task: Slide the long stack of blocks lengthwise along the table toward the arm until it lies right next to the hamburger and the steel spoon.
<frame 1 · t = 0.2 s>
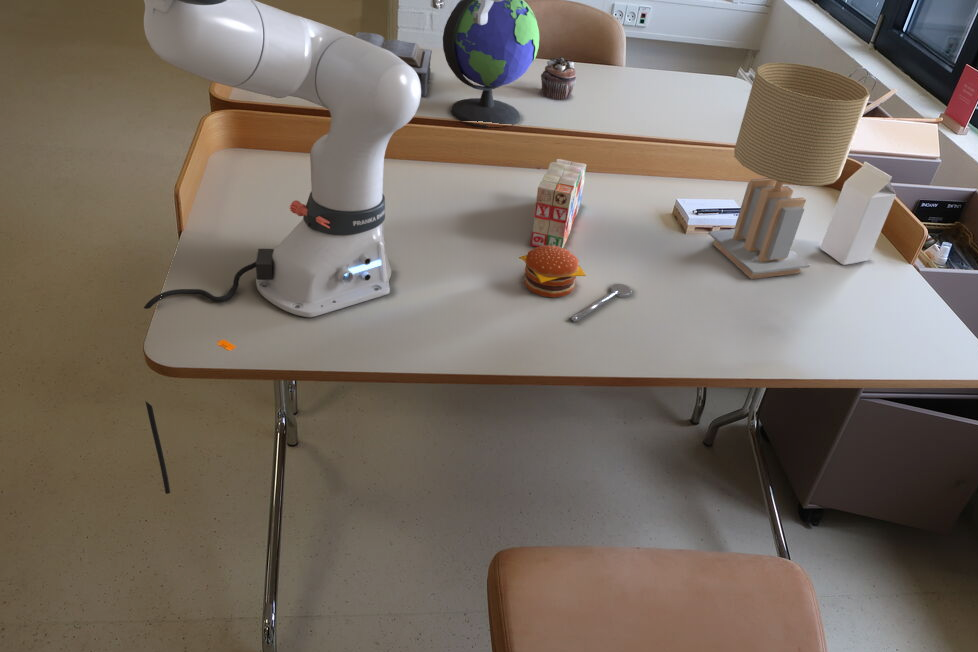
hand: (458, 15, 133), 39 cm above the table, tool pointing down, fingers open, 8 cm apart
cupcake: (556, 95, 226), on the table
hamburger: (549, 285, 145), on the table
stack of blocks: (556, 225, 164), on the table
milk carton: (843, 256, 169), on the table
desk lamp: (755, 259, 163), on the table
spoon: (604, 301, 143), on the table
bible: (383, 80, 218), on the table
globe: (485, 115, 207), on the table
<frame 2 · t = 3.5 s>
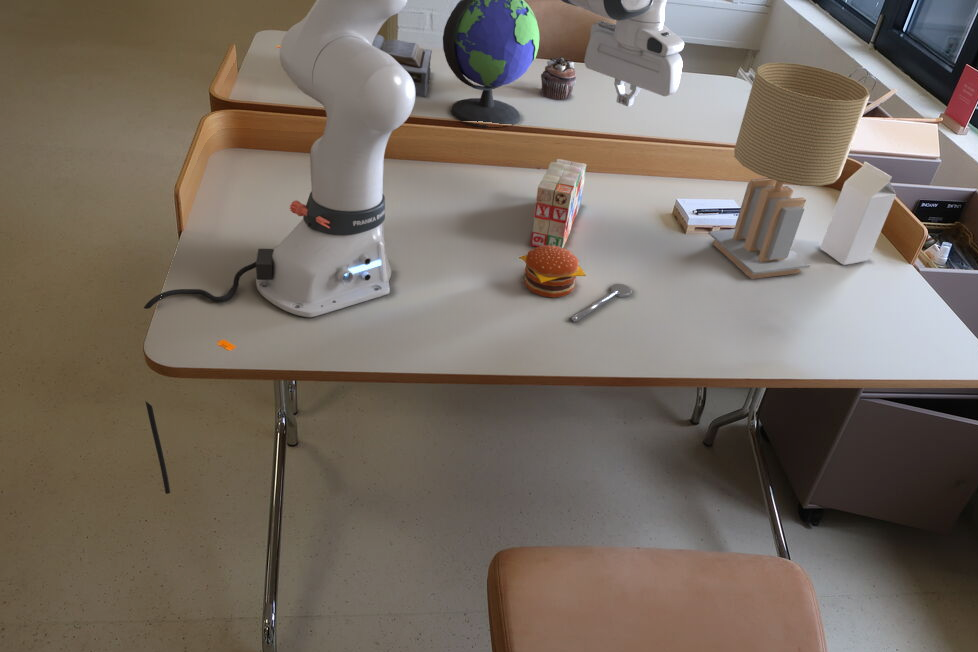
hand: (624, 104, 163), 21 cm above the table, tool pointing down, fingers closed
nothing on the table moved.
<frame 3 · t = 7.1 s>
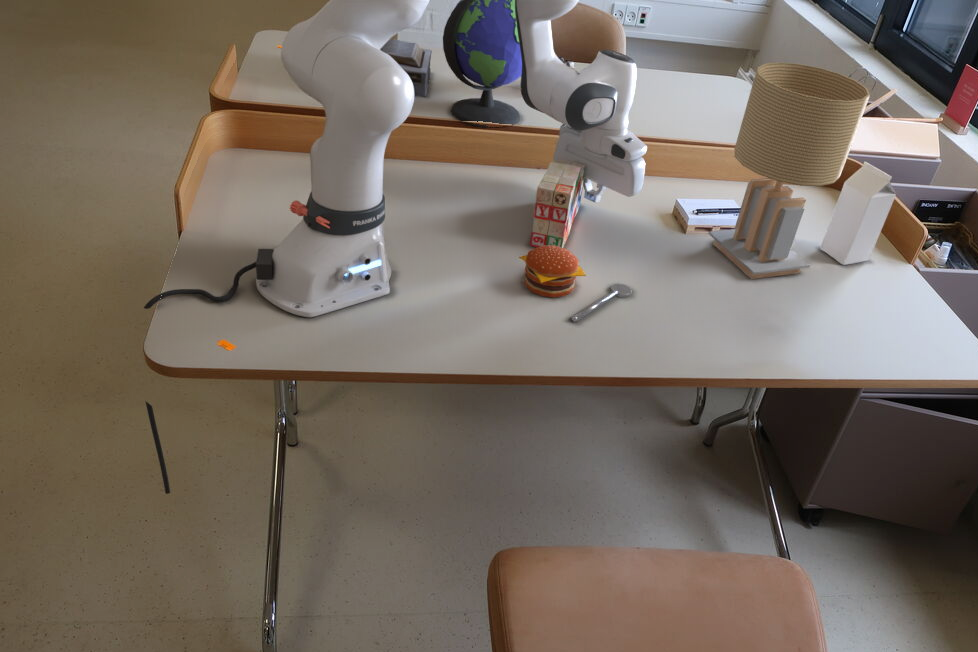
hand: (591, 199, 171), 2 cm above the table, tool pointing down, fingers closed
stack of blocks: (555, 225, 164), on the table, touching gripper
everything else where it was.
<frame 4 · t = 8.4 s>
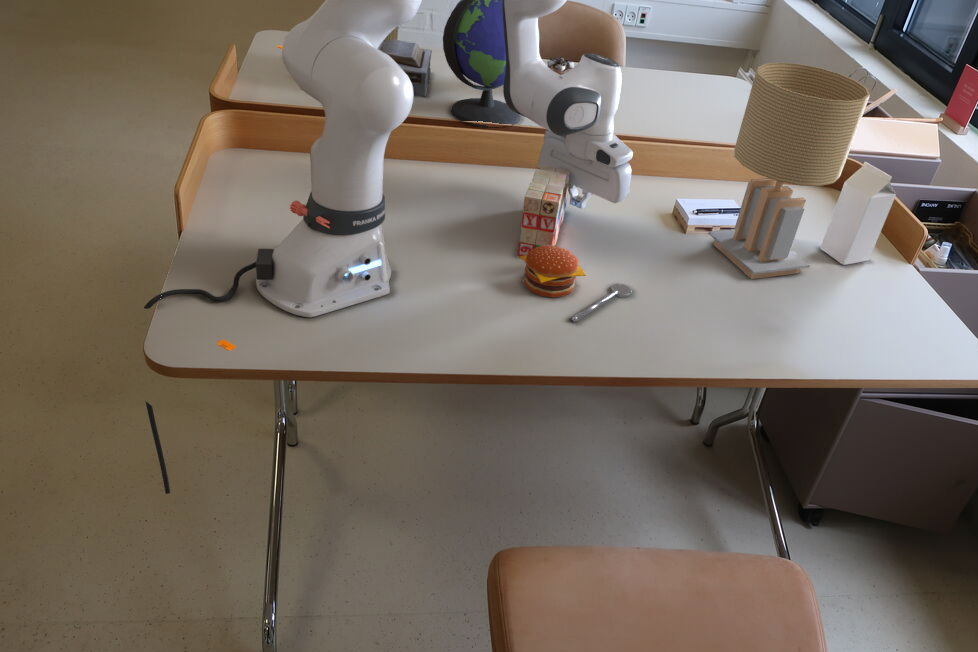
hand: (577, 206, 167), 2 cm above the table, tool pointing down, fingers closed
stack of blocks: (542, 234, 160), on the table, touching gripper
everything else where it was.
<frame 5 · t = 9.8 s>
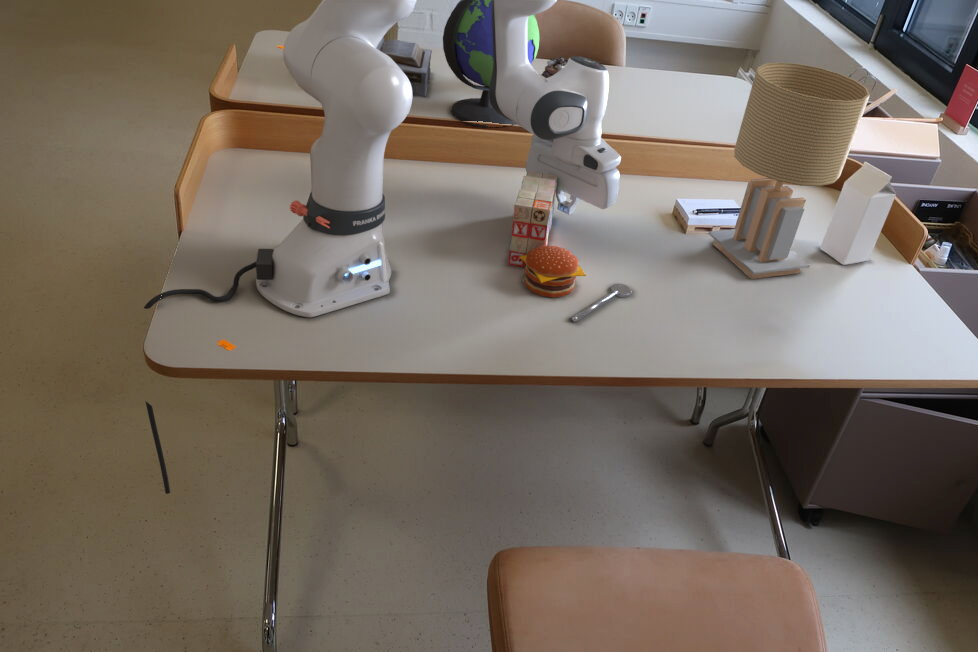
hand: (565, 211, 164), 2 cm above the table, tool pointing down, fingers closed
stack of blocks: (531, 241, 157), on the table, touching gripper
everything else where it was.
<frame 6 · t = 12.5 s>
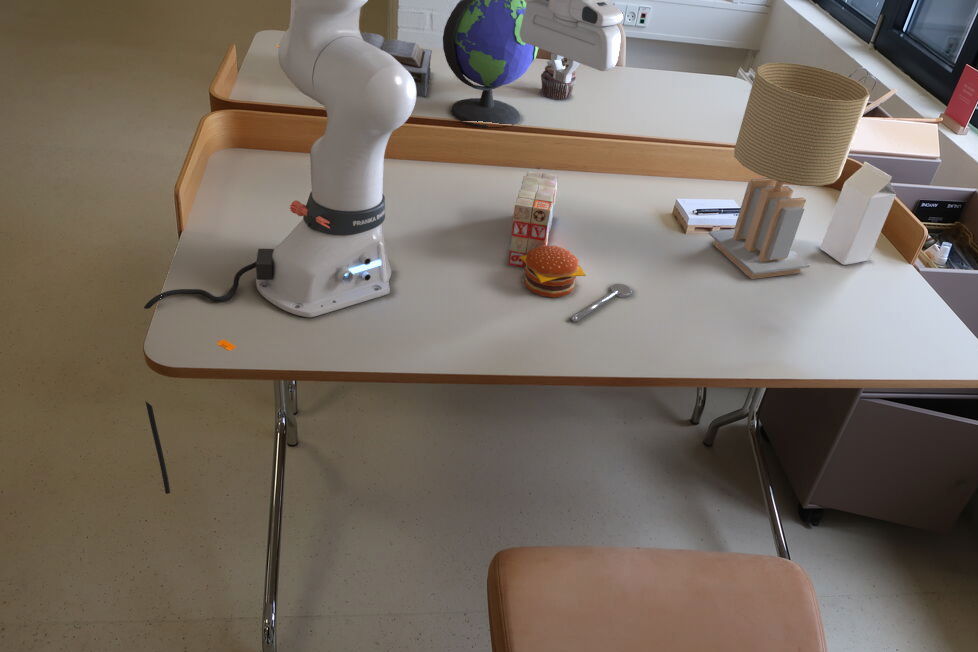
hand: (561, 80, 153), 26 cm above the table, tool pointing down, fingers closed
stack of blocks: (531, 241, 157), on the table
everything else where it was.
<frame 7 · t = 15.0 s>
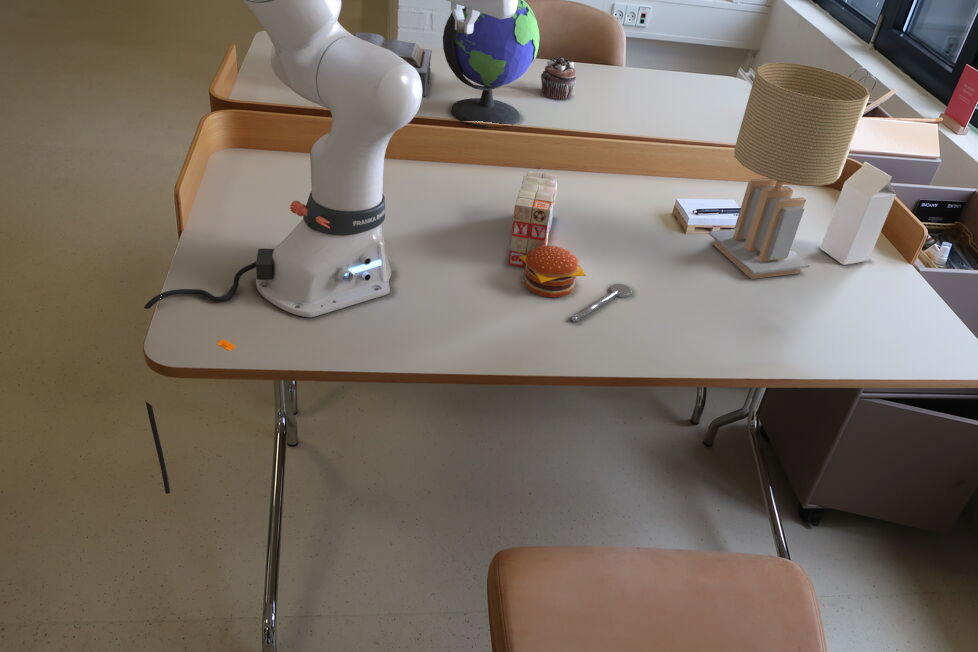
hand: (463, 31, 147), 33 cm above the table, tool pointing down, fingers closed
nothing on the table moved.
at the end: stack of blocks 15.6 cm from the hamburger (horizontally); stack of blocks tilted 0°; hamburger moved 0.2 cm from its start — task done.
